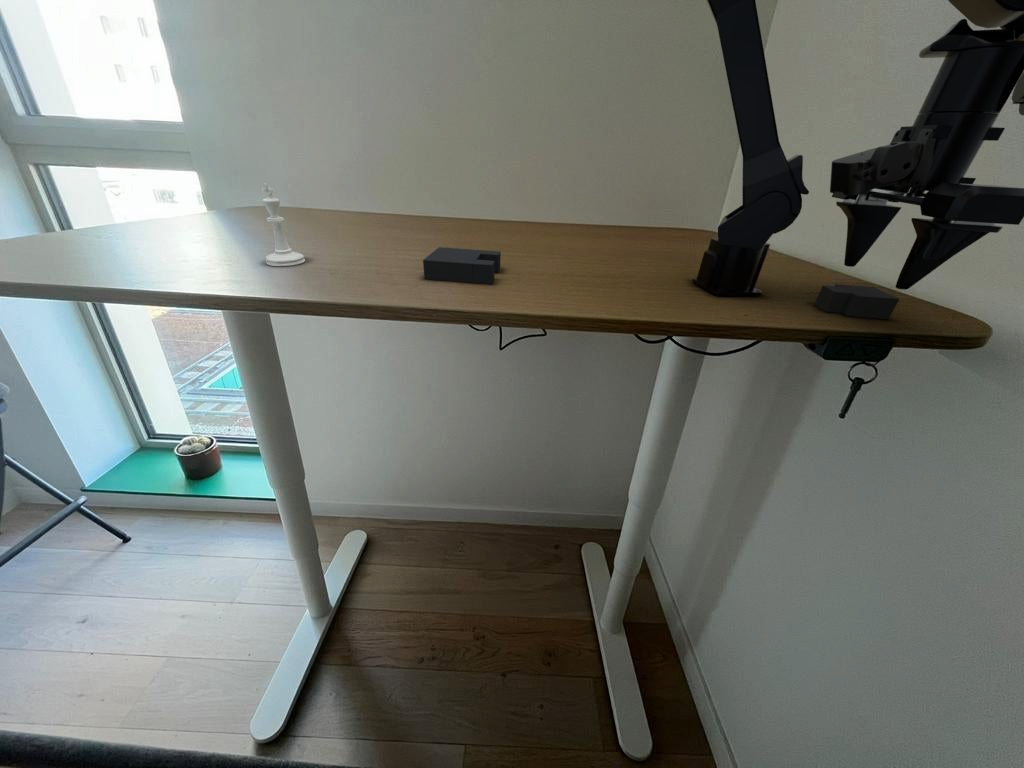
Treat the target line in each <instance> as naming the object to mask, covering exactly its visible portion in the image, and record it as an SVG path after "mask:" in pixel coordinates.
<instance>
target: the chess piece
mask: <svg viewBox="0 0 1024 768" xmlns="http://www.w3.org/2000/svg"><path fill="white" fill-rule="evenodd" d="M263 186H264V187H262V188H261V187H260V190H261V192H262V193H266V197H265V198H263V199H262V200H261V202H262V204H263V205H264V207H265V209H266V211H267V212H268V214H269V217H266V222H268V223H269V222H270V223H272V229H273V235H274V244H275V245H274V246H275V249H273V251H274V252H272V253H270V254H268V255H266V256H265V260H266V262H265V263H266V264H267V265H268V266H271V267H289V266H297V265H300V264H303V263H304V262H305V261H306V259H305V255H304V254H302V253H300V252H297V251H293V248H291V247H290V245H289V242H288V240H287V238H286V235H285V232H284V229H283V226H282V224H281V222H284V221H285V218H284V216H283V217H282V216H280V214H279V212H280V204H281V203H280V201H281V200H280V199H279V198H278V197H277V198H276V197H274V196H273V194H276V193H277V191H276V189H275V188H271V185H270V182H264V183H263Z"/></svg>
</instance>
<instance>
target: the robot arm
mask: <svg viewBox="0 0 1024 768" xmlns="http://www.w3.org/2000/svg"><path fill="white" fill-rule="evenodd" d="M947 1H948V2H949V3H950V4H951V5H952V6H953V7H954V8H955V9H956V10H957V11H959V13H960V14H962V15H963V16H964V17H965V18H962V19H960V20H958V21H957V22H955V23H954V24H952V25H951V26H950V27H949V28H948V29H947V30H946V32H945V33H943V34H942V35H941V36H939V38H937V39H936V40H934V41H933V42H932V43H930V44H928V45H927V46H926V47H924V48H922V49H921V50H920V52H919V54H918V56H919V58H920V59H934V58H935V59H937V58H939V59H941V58H943V60H942V63H941V65H940V67H939V69H938V71H937V74H936V76H935V78H934V80H933V82H932V84H931V86H930V88H929V91H928V92H927V95H926V96H925V99H924V101H923V103H922V105H921V107H920V109H919V111H918V113H917V115H916V117H915V119H914V121H913V124H912V125H909V126H901V127H900V129H898V130H897V131H896V132H895V133H894V135H893V137H892V139H891V141H890V142H889V144H886V145H881V146H878V147H874V148H871V149H870V148H869V149H866V150H864V151H863V150H862V151H860V152H856V153H854V154H849V155H846V156H842V157H840V158H836V159H834V160H832V161H831V168H830V184H829V193H830V194H831V198H835V199H839V200H843V201H838V200H837V201H835V204H836V206H837V207H839V208H840V209H841V211H842V212H843V213H844V215H845V217H846V218H847V225H846V226H847V228H846V229H847V231H846V243H845V252H844V262H843V265H844V266H846V267H849V268H850V267H851V268H854V267H856V266H857V265H858V263H859V262H860V261H861V260H862V259H863V258H864V256H866V254H867V253H868V252H869V251H870V249H871V248H872V246H873V245H874V244H875V243H876V241H877V240H878V239H879V237H880V236H881V235H882V234H883V233H884V231H885V230H886V228H887V227H888V226H889V225H890V224H891V222H892V221H893V220H894V218H896V216H897V215H898V213H900V211H901V209H902V206H897V205H892V204H888V202H889V203H901V204H909V205H914V206H919V207H920V214H921V216H924V217H929V218H919V217H918V218H917V217H912V218H911V223H912V226H913V229H914V232H915V235H916V237H915V240H914V242H913V243H912V246H911V248H910V251H909V253H908V255H907V257H906V259H905V261H904V264H903V266H902V268H901V270H900V272H899V275H898V277H897V279H896V283H895V288H896V289H898V290H905V291H906V290H908V289H910V288H912V287H913V286H914V285H916V284H917V283H919V282H920V281H921V280H923V279H924V278H925V277H927V276H928V275H929V274H931V273H932V272H933V271H935V270H936V269H938V268H939V267H940V266H941V265H943V264H944V263H946V262H947V261H948V260H950V259H952V257H954V256H956V255H957V254H958V253H960V252H961V251H963V250H965V249H967V248H968V247H970V246H971V245H973V244H974V243H976V242H978V241H979V240H980V239H982V238H983V237H984V236H986V235H988V234H989V233H994V234H995V233H996V234H997V233H999V232H1000V231H1001V230H1002V229H1003V226H1001V225H1013V226H1014V225H1015V226H1019V225H1020V224H1021V222H1022V221H1023V220H1024V187H1017V186H1016V187H1015V186H1004V185H995V184H978V183H977V184H975V183H974V182H975V181H976V179H977V177H968V176H966V174H967V172H968V171H969V170H970V167H971V165H972V164H973V161H974V160H975V158H976V157H977V154H978V153H979V152H980V149H981V148H982V147H983V144H984V143H985V141H986V142H993V141H994V142H997V141H999V139H1000V138H1001V136H1002V134H1003V133H1004V131H1005V129H1006V127H995V126H994V125H995V123H996V121H997V119H998V117H999V116H1000V114H1001V112H1002V110H1003V109H1004V107H1005V105H1006V103H1007V101H1008V100H1009V98H1010V95H1011V94H1012V95H1011V101H1012V105H1019V106H1018V114H1019V115H1020V116H1024V0H947ZM706 2H707V3H706V4H707V5H708V8H709V10H710V12H711V14H712V18H713V19H714V22H715V24H716V28H717V32H718V38H719V43H720V48H721V53H722V58H723V63H724V68H725V72H726V78H727V84H728V88H729V93H730V98H731V103H732V109H733V114H734V119H735V124H736V125H735V126H736V130H737V134H738V139H739V144H740V150H741V155H742V190H741V191H742V196H741V197H742V204H741V205H740V206H739V207H737V208H736V209H734V210H733V211H731V212H730V213H727V214H726V215H725V216H723V217H722V219H721V221H720V222H719V225H718V227H717V237H711V238H710V240H709V244H708V247H707V249H706V250H705V251H704V252H703V255H702V259H701V263H700V267H699V270H698V273H697V276H695V277H692V280H691V281H692V282H693V283H694V284H696V285H697V286H699V287H701V288H703V289H705V290H706V291H708V292H710V293H711V294H713V295H715V296H761V295H762V293H763V291H762V290H761V289H758V288H756V284H757V282H758V280H759V276H760V275H761V271H762V269H763V266H764V263H765V260H766V258H767V255H768V252H769V249H770V247H771V243H768V241H769V240H770V238H771V237H772V236H773V235H774V234H778V233H780V232H782V231H784V230H786V229H787V228H788V227H790V226H791V225H792V224H794V222H795V221H796V219H797V218H798V217H799V215H801V211H802V208H803V196H802V195H804V196H805V195H806V196H807V195H809V194H810V191H809V189H808V188H807V186H806V185H805V182H804V178H803V168H804V167H803V165H804V156H803V155H802V154H795V155H793V156H792V157H790V158H788V159H787V157H786V153H784V150H783V148H782V144H781V143H780V138H779V132H778V127H777V121H776V114H775V108H774V103H773V97H772V93H771V92H772V91H771V85H770V81H769V73H768V67H767V62H766V56H765V49H764V45H763V39H762V38H763V37H762V32H761V26H760V20H759V15H758V9H757V3H756V0H706ZM968 21H969V22H971V24H973V25H974V26H976V27H980V28H985V29H976V30H974V29H972V27H971V26H970V25H969V23H968ZM996 28H997V29H996ZM996 224H997V225H996ZM998 224H999V225H998Z"/></svg>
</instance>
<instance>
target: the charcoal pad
mask: <svg viewBox="0 0 1024 768" xmlns="http://www.w3.org/2000/svg"><path fill="white" fill-rule="evenodd" d="M501 254H502V253H501V251H500V250H487V249H486V250H485V249H484V250H483V249H470V248H458V247H457V248H455V247H445V246H444V247H443V246H438V247H437V248H436V249H434V251H432V252H431V253H429V255H427V256H426V257H425V258H423V260H422V265H423V279H424V280H433V281H443V282H445V281H446V282H457V283H471V284H472V283H473V284H482V285H483V284H484V285H492V284H493V283H494V282H495V276H496V275H495V274H498V273H499V272H500V270H501V258H502V257H501V256H502V255H501Z"/></svg>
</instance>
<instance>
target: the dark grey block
mask: <svg viewBox="0 0 1024 768" xmlns="http://www.w3.org/2000/svg"><path fill="white" fill-rule="evenodd" d="M899 301H900V298H899V297H896V296H894V295H892V294H890V293H887V292H885V291H884V290H881V289H879V288H877V287H876V286H865V285H853V284H852V285H850V284H840V283H839V284H838V283H837V284H834V285H822V286H821V289H820V291H819V293H818V295H817V298H816V299H815V302H814V306H815V307H817V308H818V309H820V310H821V311H823V312H825V313H833V314H835V313H836V314H843V315H845V316H847V317H850V318H851V317H853V318H864V319H865V318H866V319H876V320H889V319H890V317H891V315H892V313H893V312H894V310H895V309H896V307H897V305H898V303H899Z"/></svg>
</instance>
